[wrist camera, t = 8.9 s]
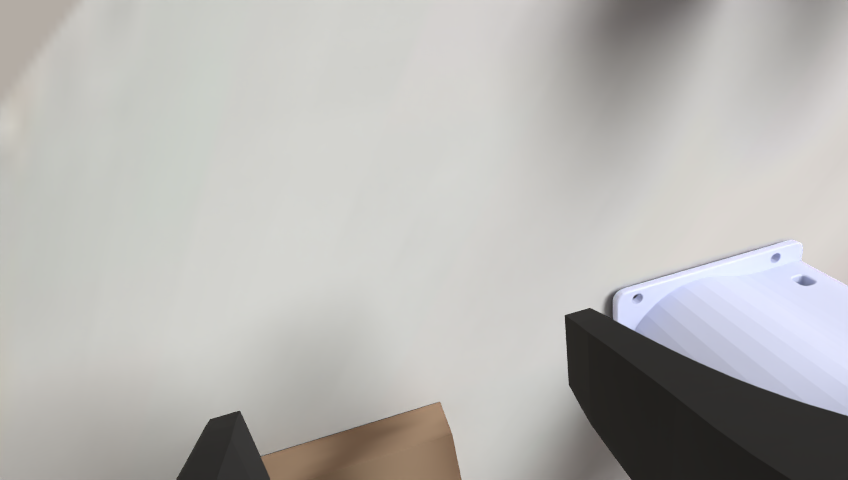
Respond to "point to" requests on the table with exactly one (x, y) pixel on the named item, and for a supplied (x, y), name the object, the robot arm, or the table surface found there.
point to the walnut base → (375, 451)
